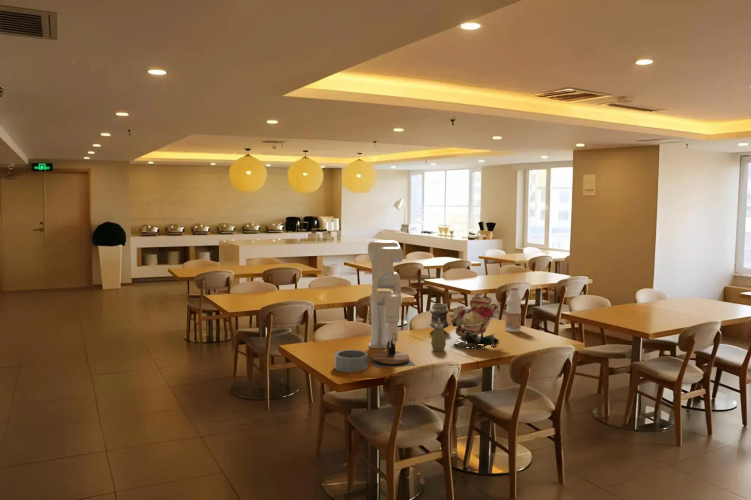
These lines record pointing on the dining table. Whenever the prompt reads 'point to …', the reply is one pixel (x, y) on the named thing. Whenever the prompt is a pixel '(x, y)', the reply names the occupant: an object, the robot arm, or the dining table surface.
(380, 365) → the gray square mat
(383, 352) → the walnut lid
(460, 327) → the rose bouquet
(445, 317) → the apothecary jar
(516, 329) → the fruit juice
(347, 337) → the dining table surface
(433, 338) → the squeeze bottle
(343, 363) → the slate bowl
